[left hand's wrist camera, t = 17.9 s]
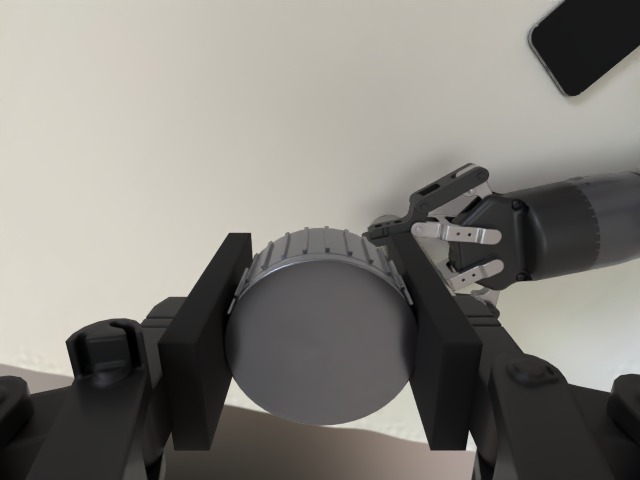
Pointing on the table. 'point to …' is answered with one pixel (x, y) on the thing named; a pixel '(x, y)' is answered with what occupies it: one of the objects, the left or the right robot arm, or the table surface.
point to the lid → (321, 328)
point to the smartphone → (585, 40)
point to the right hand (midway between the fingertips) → (369, 267)
